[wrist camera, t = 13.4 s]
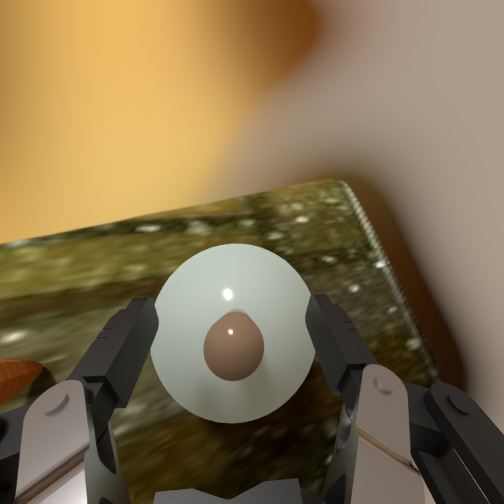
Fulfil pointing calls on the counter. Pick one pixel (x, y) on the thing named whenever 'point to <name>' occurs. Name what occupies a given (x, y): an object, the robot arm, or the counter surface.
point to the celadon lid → (233, 333)
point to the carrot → (16, 376)
